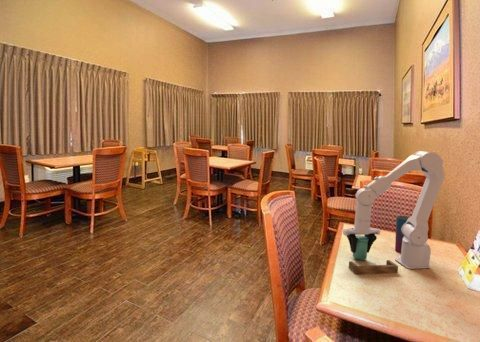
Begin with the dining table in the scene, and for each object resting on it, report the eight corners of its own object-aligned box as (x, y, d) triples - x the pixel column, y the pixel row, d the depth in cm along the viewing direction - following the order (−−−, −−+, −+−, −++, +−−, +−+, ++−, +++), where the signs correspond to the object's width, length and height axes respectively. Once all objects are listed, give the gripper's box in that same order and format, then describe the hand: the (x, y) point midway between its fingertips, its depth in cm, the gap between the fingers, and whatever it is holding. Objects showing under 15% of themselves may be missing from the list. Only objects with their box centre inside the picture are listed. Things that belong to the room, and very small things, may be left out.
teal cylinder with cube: (359, 251, 124) (360, 233, 123) (370, 259, 116) (371, 240, 115) (346, 251, 123) (347, 233, 122) (356, 260, 115) (358, 240, 114)
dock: (388, 266, 113) (389, 260, 112) (397, 272, 108) (398, 266, 107) (348, 267, 110) (349, 261, 110) (355, 274, 106) (356, 267, 105)
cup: (413, 255, 123) (417, 220, 121) (395, 253, 125) (399, 219, 123) (407, 248, 130) (411, 216, 128) (390, 247, 131) (394, 214, 129)
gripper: (374, 215, 121) (371, 247, 123) (340, 216, 119) (338, 248, 121) (384, 221, 114) (381, 254, 116) (349, 221, 112) (346, 255, 114)
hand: (359, 251), depth 118 cm, fingers closed on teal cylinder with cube, 5 cm apart
